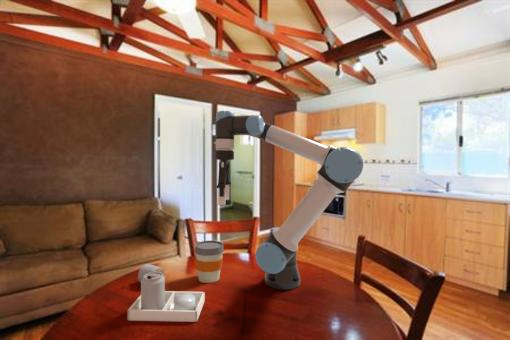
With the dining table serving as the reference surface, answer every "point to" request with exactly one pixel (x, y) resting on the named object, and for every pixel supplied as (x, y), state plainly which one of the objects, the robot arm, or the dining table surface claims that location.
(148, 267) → the ceramic mug
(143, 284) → the can
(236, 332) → the dining table surface
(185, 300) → the white dome
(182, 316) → the caddy
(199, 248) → the reusable coffee cup
